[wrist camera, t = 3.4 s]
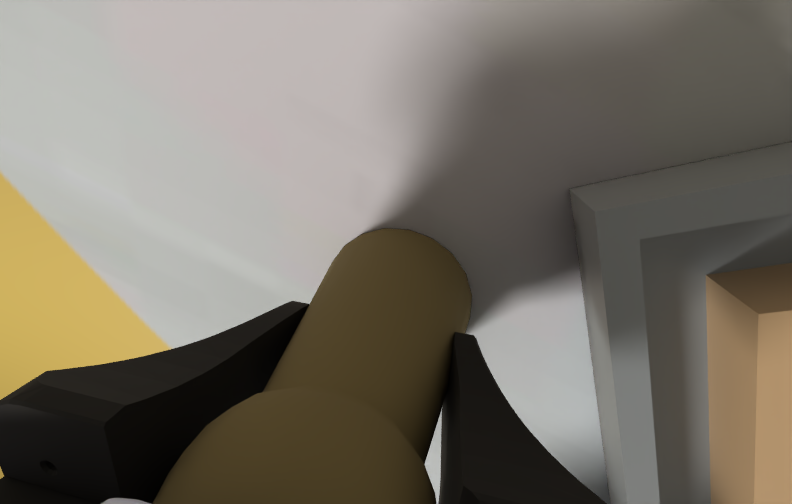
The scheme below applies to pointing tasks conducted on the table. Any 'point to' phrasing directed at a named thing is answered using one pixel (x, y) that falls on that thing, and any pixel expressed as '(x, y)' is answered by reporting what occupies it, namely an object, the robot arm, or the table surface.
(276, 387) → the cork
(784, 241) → the tray
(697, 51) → the table surface
